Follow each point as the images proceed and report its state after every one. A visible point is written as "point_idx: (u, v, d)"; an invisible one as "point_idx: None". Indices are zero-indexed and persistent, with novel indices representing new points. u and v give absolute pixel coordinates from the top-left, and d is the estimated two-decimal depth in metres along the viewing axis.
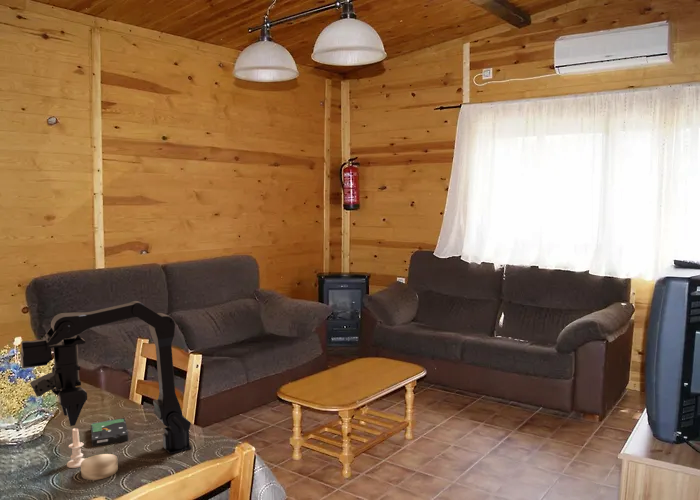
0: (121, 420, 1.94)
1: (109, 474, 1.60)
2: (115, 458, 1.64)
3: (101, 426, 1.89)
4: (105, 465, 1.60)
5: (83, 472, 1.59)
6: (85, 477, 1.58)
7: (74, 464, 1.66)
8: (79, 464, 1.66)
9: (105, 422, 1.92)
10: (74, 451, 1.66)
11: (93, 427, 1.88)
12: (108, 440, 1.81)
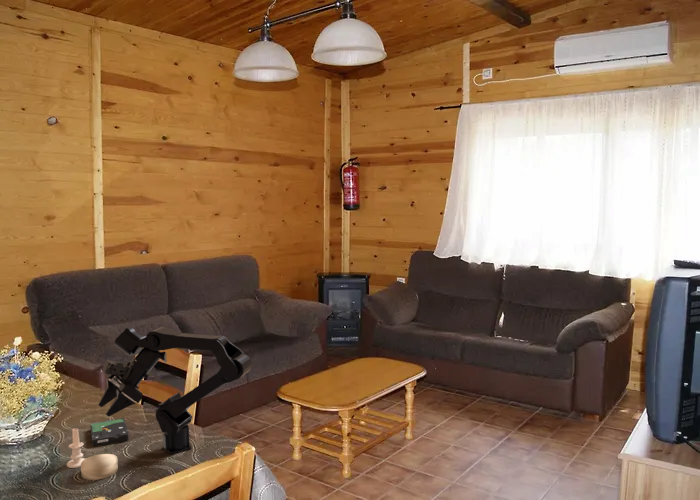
0: (121, 420, 1.94)
1: (109, 474, 1.60)
2: (115, 458, 1.64)
3: (101, 426, 1.89)
4: (105, 465, 1.60)
5: (83, 472, 1.59)
6: (85, 477, 1.58)
7: (74, 464, 1.66)
8: (79, 464, 1.66)
9: (105, 422, 1.92)
10: (74, 451, 1.66)
11: (93, 427, 1.88)
12: (109, 440, 1.81)
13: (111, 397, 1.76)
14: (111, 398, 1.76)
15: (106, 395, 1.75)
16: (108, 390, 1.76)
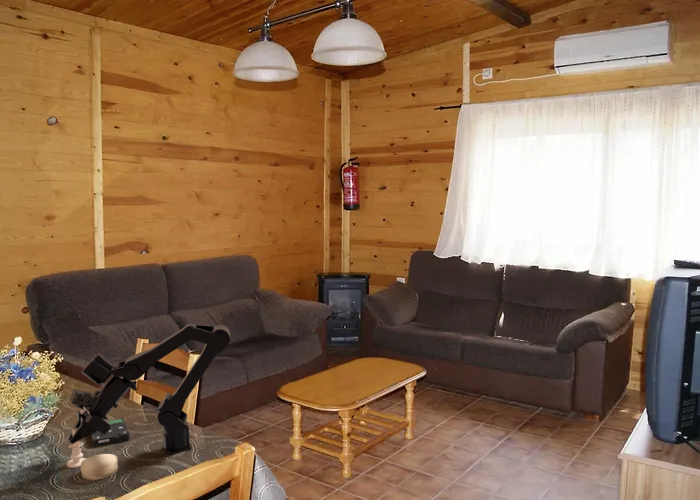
0: (120, 420, 1.94)
1: (109, 474, 1.60)
2: (115, 458, 1.64)
3: None
4: (105, 465, 1.60)
5: (83, 472, 1.59)
6: (85, 477, 1.58)
7: (74, 464, 1.66)
8: (79, 464, 1.66)
9: None
10: (74, 451, 1.66)
11: None
12: (110, 440, 1.81)
13: None
14: None
15: (77, 429, 1.68)
16: (79, 423, 1.68)
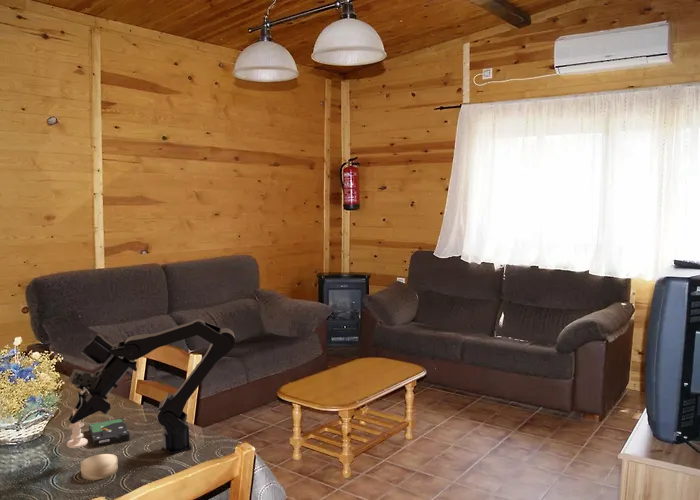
0: (119, 420, 1.94)
1: (109, 474, 1.60)
2: (115, 458, 1.64)
3: (100, 426, 1.89)
4: (105, 465, 1.60)
5: (83, 472, 1.59)
6: (85, 477, 1.58)
7: (74, 444, 1.66)
8: (79, 444, 1.66)
9: (103, 422, 1.92)
10: (74, 431, 1.66)
11: (92, 428, 1.88)
12: (110, 440, 1.81)
13: None
14: None
15: (77, 409, 1.67)
16: (79, 404, 1.68)
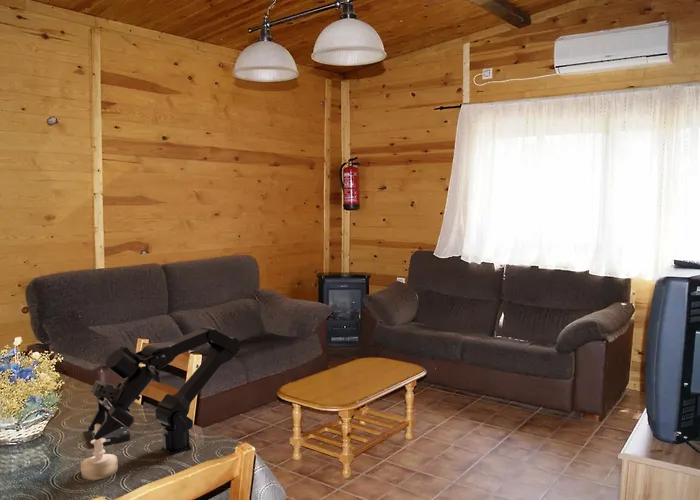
0: None
1: (109, 474, 1.60)
2: (115, 458, 1.64)
3: None
4: (105, 465, 1.60)
5: (83, 472, 1.59)
6: (85, 477, 1.58)
7: (96, 461, 1.61)
8: (101, 461, 1.61)
9: None
10: (96, 447, 1.61)
11: None
12: (111, 440, 1.81)
13: (102, 421, 1.65)
14: (102, 422, 1.65)
15: (96, 419, 1.64)
16: (99, 413, 1.65)
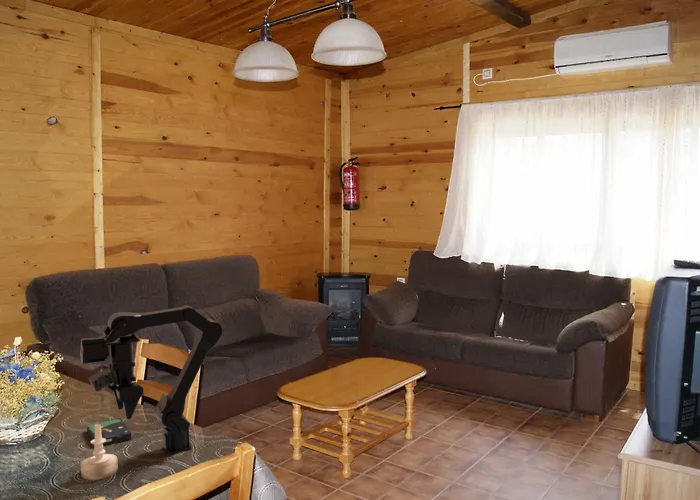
0: (118, 420, 1.94)
1: (109, 474, 1.60)
2: (115, 458, 1.64)
3: None
4: (105, 465, 1.60)
5: (83, 472, 1.59)
6: (85, 477, 1.58)
7: (96, 461, 1.61)
8: (101, 461, 1.61)
9: (102, 423, 1.92)
10: (96, 447, 1.61)
11: (91, 428, 1.87)
12: (112, 439, 1.81)
13: None
14: None
15: (118, 397, 1.72)
16: (116, 393, 1.72)
